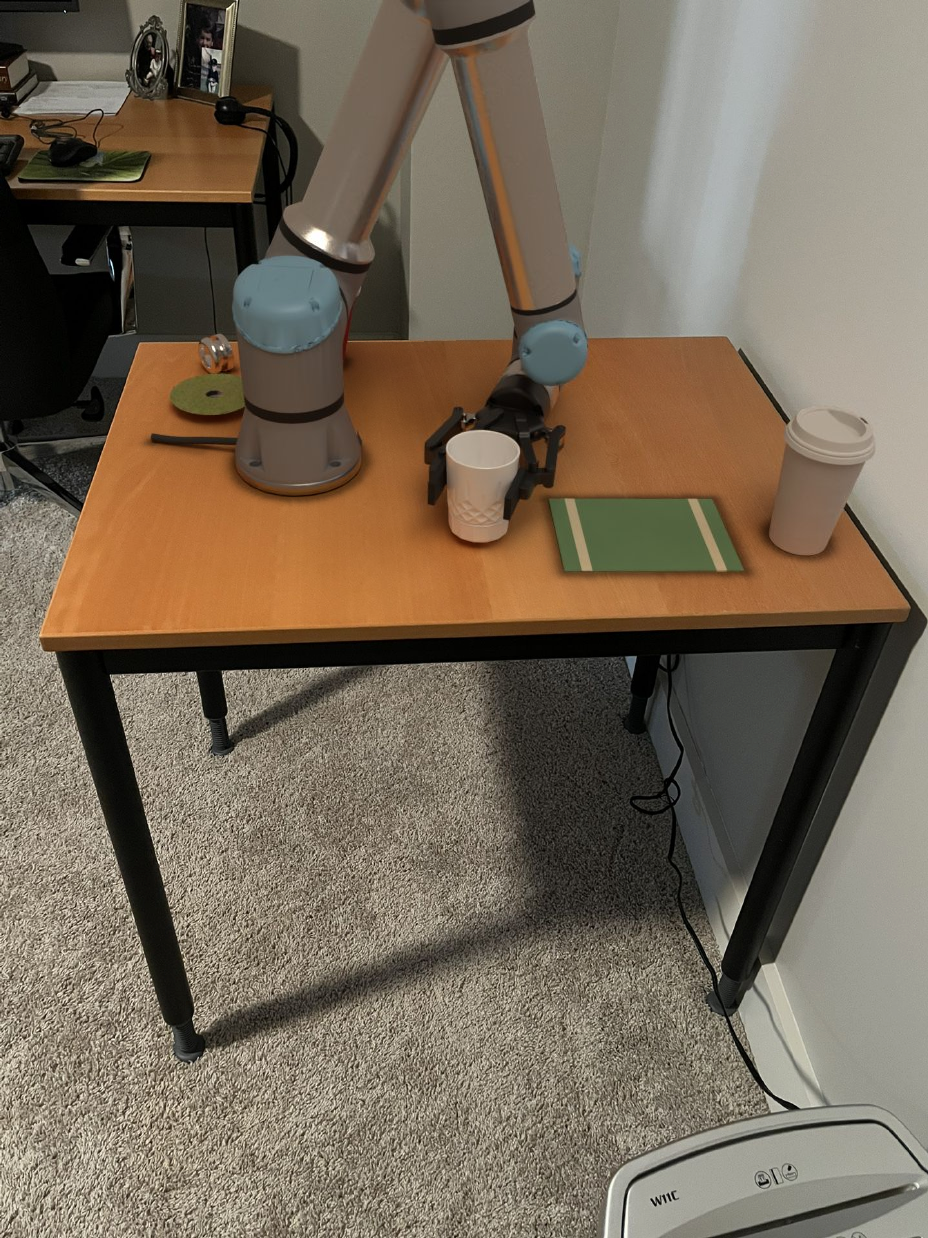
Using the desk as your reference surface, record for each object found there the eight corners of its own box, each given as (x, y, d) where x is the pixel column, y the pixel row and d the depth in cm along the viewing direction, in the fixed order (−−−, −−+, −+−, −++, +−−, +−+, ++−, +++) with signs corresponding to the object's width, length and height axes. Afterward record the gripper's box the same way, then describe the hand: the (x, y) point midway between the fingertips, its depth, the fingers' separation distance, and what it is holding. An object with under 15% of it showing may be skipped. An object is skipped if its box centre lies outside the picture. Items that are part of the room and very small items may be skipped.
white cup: (463, 553, 108) (467, 475, 101) (431, 515, 113) (433, 438, 106) (526, 535, 111) (533, 458, 104) (492, 499, 116) (497, 423, 109)
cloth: (564, 573, 108) (564, 570, 108) (548, 501, 119) (548, 498, 118) (743, 572, 109) (744, 569, 109) (711, 501, 120) (712, 498, 120)
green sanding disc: (258, 425, 129) (257, 411, 127) (169, 429, 127) (167, 415, 126) (257, 384, 137) (256, 371, 136) (174, 387, 135) (171, 374, 134)
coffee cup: (846, 568, 110) (889, 451, 101) (759, 559, 111) (794, 442, 101) (832, 519, 118) (871, 406, 108) (751, 511, 118) (783, 397, 109)
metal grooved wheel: (235, 374, 139) (232, 340, 135) (217, 380, 137) (212, 346, 134) (217, 361, 141) (213, 328, 138) (198, 367, 140) (194, 333, 137)
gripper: (600, 444, 121) (560, 550, 104) (440, 415, 125) (377, 512, 108) (608, 388, 116) (568, 490, 100) (442, 359, 120) (376, 453, 103)
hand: (468, 501), depth 104 cm, fingers closed on white cup, 8 cm apart
